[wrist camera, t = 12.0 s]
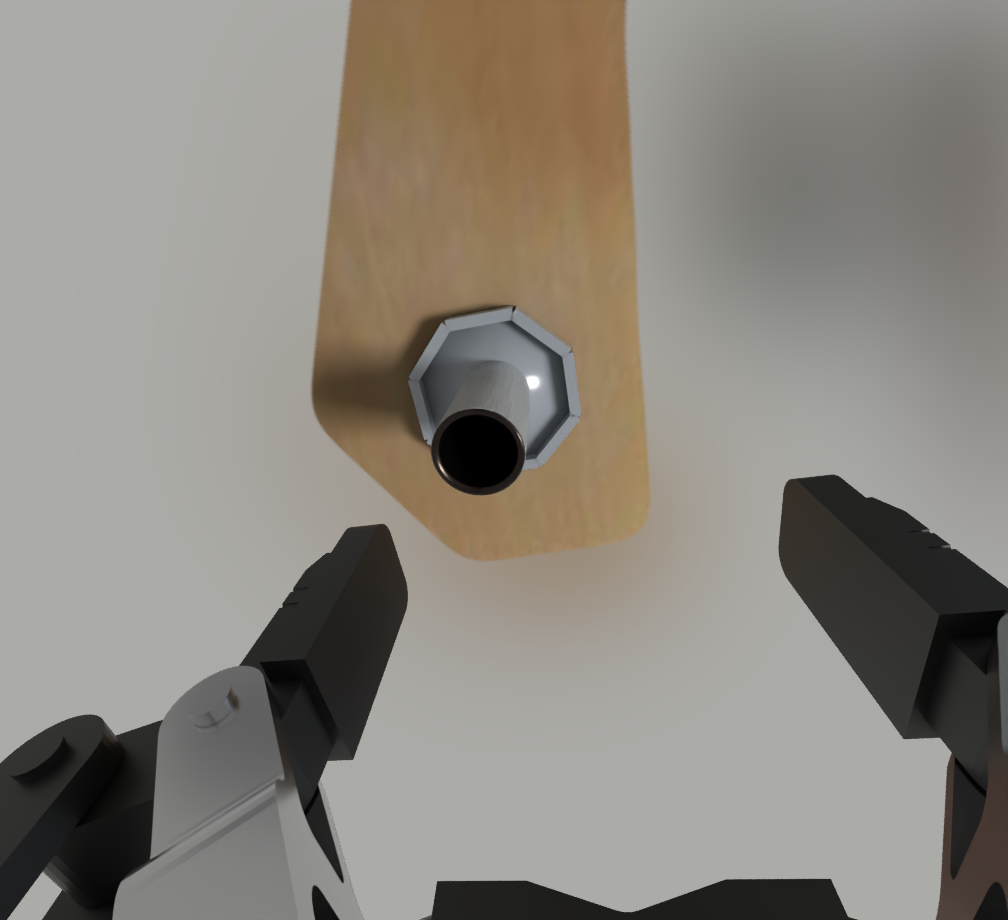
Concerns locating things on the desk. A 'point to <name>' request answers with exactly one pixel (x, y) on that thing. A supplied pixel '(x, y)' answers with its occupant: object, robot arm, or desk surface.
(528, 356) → the saucer
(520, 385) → the planter
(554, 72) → the desk surface
